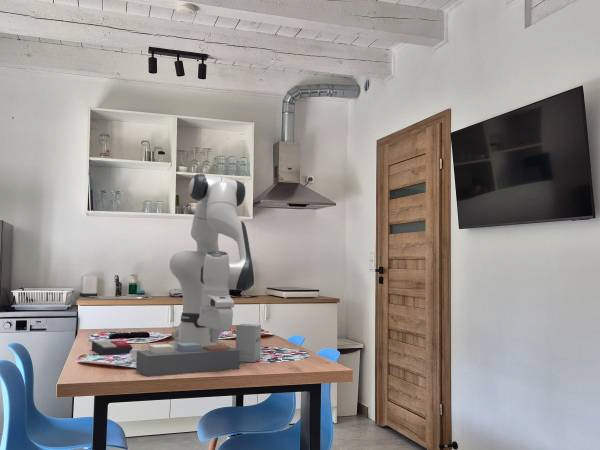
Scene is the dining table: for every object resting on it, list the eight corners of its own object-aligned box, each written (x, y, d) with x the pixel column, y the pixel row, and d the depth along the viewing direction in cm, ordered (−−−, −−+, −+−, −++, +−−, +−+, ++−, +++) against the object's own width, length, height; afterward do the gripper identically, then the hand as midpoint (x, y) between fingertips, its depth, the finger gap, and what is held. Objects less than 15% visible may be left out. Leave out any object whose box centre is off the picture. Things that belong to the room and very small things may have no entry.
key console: (136, 370, 178) (136, 350, 179) (224, 363, 194) (224, 345, 194) (147, 376, 168) (147, 356, 168) (238, 368, 183) (239, 350, 184)
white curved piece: (153, 362, 196) (153, 350, 196) (131, 364, 190) (132, 352, 191) (141, 358, 202) (141, 347, 202) (120, 361, 197) (120, 349, 197)
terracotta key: (202, 359, 187) (203, 346, 187) (219, 358, 190) (220, 345, 190) (209, 361, 181) (210, 348, 182) (226, 360, 185) (227, 347, 185)
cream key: (148, 358, 177) (149, 345, 178) (167, 357, 181) (167, 343, 181) (154, 361, 172) (154, 347, 173) (173, 360, 175) (174, 346, 176)
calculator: (103, 346, 206) (91, 339, 218) (102, 358, 205) (91, 350, 218) (132, 344, 212) (120, 337, 224) (132, 356, 212) (119, 348, 224)
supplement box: (255, 362, 196) (255, 325, 197) (234, 361, 198) (235, 325, 199) (260, 359, 203) (261, 323, 204) (241, 358, 205) (241, 323, 206)
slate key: (176, 356, 182) (177, 343, 182) (194, 355, 185) (194, 342, 185) (182, 359, 177) (183, 345, 177) (200, 358, 180) (201, 344, 180)
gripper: (195, 298, 194) (193, 338, 194) (218, 302, 177) (216, 347, 176) (212, 297, 198) (211, 337, 197) (236, 302, 180) (235, 346, 179)
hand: (213, 342), depth 186 cm, fingers closed
